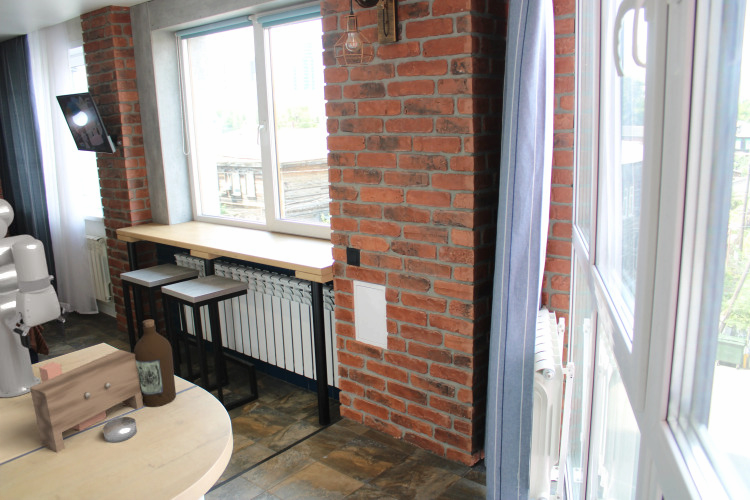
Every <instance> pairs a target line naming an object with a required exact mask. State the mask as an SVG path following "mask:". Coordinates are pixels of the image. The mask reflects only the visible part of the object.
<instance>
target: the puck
mask: <svg viewBox="0 0 750 500" xmlns="http://www.w3.org/2000/svg"><path fill="white" fill-rule="evenodd" d="M102 430H103V431H102V432H103V437H104V441H106V443H109V444H118V443H121V442H125V441H128V440H130V439H131V438H133V437H134V436H136V434H137V431H138V429H137V423H136V419H135V418H134V417H130V416H129V417H128V416H122V417H117V418H113V419H111V420H109V421H108V422H107V423H105V424H104V426H103V427H102Z"/></svg>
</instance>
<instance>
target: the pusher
mask: <svg viewBox="0 0 750 500" xmlns="http://www.w3.org/2000/svg"><path fill="white" fill-rule="evenodd" d="M38 369H39V374H40V381H41V383H42V382H44V381H47V380H49V379H51V378H54V377H56V376H59V375H61V374H63V371H62V366H61V364H60V363H56V362H54V361H51V362H49V363H47V364H44V365H41V366H39V367H38ZM105 418H107V414H106V410H105V411H103V412H101V413H99V414H97V415H95V416H93V417H91V418H89V419H87V420H85V421H83V422H81V423H79V424H77V425H75V426H73V427H71V429H75V430H77V431H80V432H81V431H83V430H85V429H86V428H88V427H90V426H92V425H94V424H96V423H98V422H99V421H102V420H104V419H105Z"/></svg>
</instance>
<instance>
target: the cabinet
mask: <svg viewBox="0 0 750 500" xmlns="http://www.w3.org/2000/svg"><path fill="white" fill-rule="evenodd" d="M133 353H134V352H130V351H127V350H126V351H125V350H122V349H118V350H115V351H113V352H111V353H108V354H106V355H103V356H101V357H98V358H97V359H94V360H91V361H90V362H87V363H84V364H83V365H80V366H77V367H75V368H73V369H70V370H69V371H66V372H64V373H63V372H62V374H61V375H59V376H56V377H54V378H51V379H49V380H47V381H44V382H42V381H41V383H40V384H37V385H35V386H33V387H30V390H31V391H30V394H31V400H32V403H33V409H34V415H35V420H36V424H37V428H38V433H39V438H40V443H41V446H43V447H45V448H47V449H50V450H52V451H53V452H55V453H58V452H60V451H62V450H65V441H64V439H63V433H64V432H65V431H68V430H69V429H72V427H73V426H75V425H77V424H79V423H81V422H83V421H85V420H87V419H89V418H91V417H93V416H95V415H97V414H99V413H101V412H103V411H105V412H106V411H107V410H108V409H110V408H112V407H114V406H116V405H118V404H120V403H121V404H122V405H123V406H127V407H130V408H133V409H136V410H138V409H141V408H142V407H143V406H144V403H143V400H142V394H141V389H140V383H139V376H138V370H137V364H136V359H135V354H133Z"/></svg>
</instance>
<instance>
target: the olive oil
mask: <svg viewBox="0 0 750 500" xmlns="http://www.w3.org/2000/svg"><path fill="white" fill-rule="evenodd" d="M142 325H143V326H142V330H143V334H142V336H141V338H140V339H139V340H138V341H137V342H136V344H135V346H134V349H133V352H132V353H133V354H135V359H136V364H137V370H138V376H139V383H140V389H141V395H142V402H143V406H146V407H150V408H151V407H152V408H154V407H156V408H157V407H162V406H164V405H168V404H170V403H171V402H173V401H174V400H175V399H176V396H177V392H176V381H175V372H174V359H173V348H172V346H171V343H170V341H169V340H168V339H167V338H166V337H164V336H163V335H161V334H159V333H158V332H157V331H156V329H157V328H156V324H155V320H154V319H145V320H143V321H142Z"/></svg>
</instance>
